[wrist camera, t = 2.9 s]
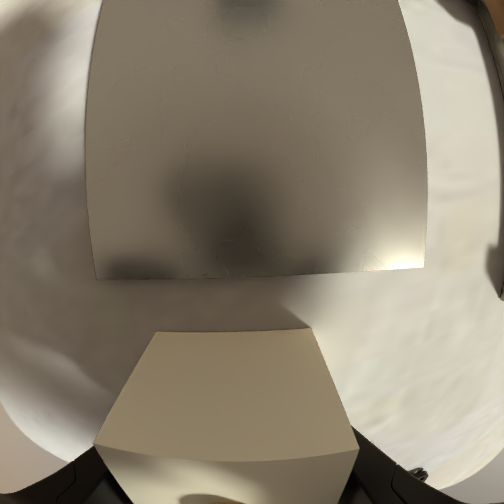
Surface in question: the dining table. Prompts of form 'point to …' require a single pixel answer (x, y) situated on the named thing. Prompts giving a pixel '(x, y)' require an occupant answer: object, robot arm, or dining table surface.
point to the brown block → (497, 14)
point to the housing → (230, 422)
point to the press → (256, 138)
